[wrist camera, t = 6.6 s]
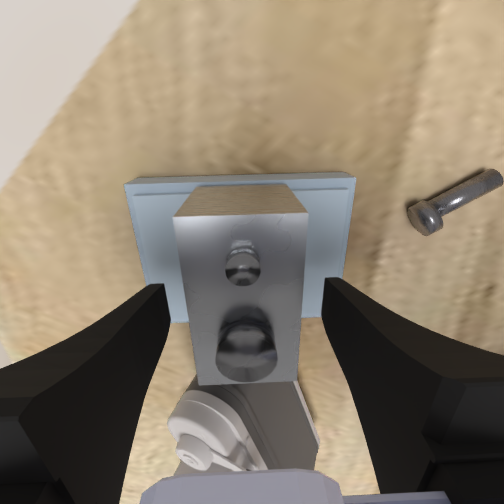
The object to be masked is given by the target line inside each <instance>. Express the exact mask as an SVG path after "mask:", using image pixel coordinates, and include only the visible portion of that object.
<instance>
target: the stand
mask: <svg viewBox="0 0 504 504" xmlns="http://www.w3.org/2000/svg"><path fill="white" fill-rule="evenodd" d="M267 184H287V186H288V187H289V188H290V190H291V191H292V192H293V193H294V195H295V196H296V197H297V199H298V200H299V201H300V202H301V204H302V205H303V206H304V208H305V209H306V210H307V211H308V213H309V214H308V228H307V243H306V257H305V272H304V286H303V301H302V315H301V318H310V317H321V308H322V299H323V290H324V280H325V277H339V278H341V279H342V276H343V269H344V262H345V255H346V248H347V241H348V234H349V226H350V219H351V212H352V205H353V198H354V191H355V184H356V177H354V176H351V175H349V174H347V173H345V172H320V173H285V174H251V175H216V176H181V177H146V178H136V179H134V180H132V181H130V182H128V183H126V184H124V188H125V192H126V197H127V201H128V206H129V210H130V215H131V219H132V224H133V228H134V233H135V237H136V241H137V246H138V250H139V255H140V259H141V264H142V268H143V273H144V277H145V282H146V286H148V285H149V284H156V283H164V285H165V290H166V296H167V301H168V306H169V312H170V317H171V323H185V322H189V319H188V313H187V307H186V300H185V294H184V287H183V281H182V275H181V268H180V262H179V255H178V249H177V243H176V236H175V230H174V223H173V216H174V215H175V213H176V212H177V211H178V210H179V208H180V207H181V206H182V204H183V203H184V202H185V200H186V199H187V198H188V197H189V195H190V194H191V193H192V191H193V190H194V189H195V188H196V187H200V186H233V185H267Z"/></svg>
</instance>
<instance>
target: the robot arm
mask: <svg viewBox="0 0 504 504" xmlns="http://www.w3.org/2000/svg"><path fill="white" fill-rule="evenodd" d="M321 317H322V320H323V324H324V328H325V331H326V334H327V336H328V339H329V341H330V343H331V346H332V348H333V350H334V353H335V355H336V357H337V359H338V362H339V364H340V366H341V368H342V371H343V373H344V375H345V377H346V380H347V382H348V385H349V388H350V390H351V394H352V397H353V400H354V403H355V406H356V409H357V412H358V415H359V419H360V422H361V425H362V429H363V432H364V435H365V438H366V442H367V446H368V449H369V453H370V456H371V460H372V463H373V467H374V471H375V475H376V478H377V482H378V486H379V490H380V494H373V495H353V496H342V494H341V490H340V487H339V483H337V482H336V481H335V480H333V479H332V478H330V477H328V476H326V475H324V474H323V473H321V472H319V471H315V470H306V469H296V468H294V469H274V470H253V471H232V472H212V473H191V474H181V475H176V476H171V477H166V478H162V479H161V480H159V481H158V482H157V483H155V484H154V485H152V486H151V487H150V488H148V489H147V490H146V491H144V492H143V493H142V496H141V500H140V504H504V356H503V355H499V354H496V353H492V352H489V351H486V350H482V349H480V348H477V347H474V346H471V345H468V344H465V343H462V342H459V341H456V340H454V339H451V338H448V337H446V336H443V335H441V334H438V333H436V332H434V331H431V330H429V329H427V328H424V327H422V326H420V325H418V324H416V323H414V322H412V321H410V320H408V319H406V318H404V317H402V316H400V315H398V314H396V313H394V312H392V311H391V310H389V309H387V308H386V307H384V306H382V305H381V304H379V303H377V302H376V301H374V300H373V299H371V298H369V297H368V296H366V295H365V294H363V293H362V292H360V291H359V290H357V289H356V288H355V287H353V286H352V285H350V284H349V283H347V282H346V281H344V280H343V279H341V278H339V277H325V280H324V290H323V299H322V308H321ZM170 323H171V317H170V312H169V306H168V301H167V296H166V290H165V285H164V283H156V284H149V285H148V286H146V287H145V288H143V289H142V290H140V291H139V292H138V293H136V294H135V295H134V296H132V297H131V298H130V299H128V300H127V301H126V302H124V303H123V304H121V305H120V306H119V307H117V308H116V309H114V310H113V311H111V312H110V313H109V314H107V315H106V316H104V317H103V318H101V319H100V320H98V321H97V322H95V323H93V324H92V325H90V326H89V327H87V328H85V329H84V330H82V331H80V332H78V333H77V334H75V335H73V336H71V337H69V338H67V339H66V340H64V341H62V342H59V343H57V344H55V345H53V346H51V347H49V348H47V349H45V350H43V351H41V352H39V353H37V354H35V355H32V356H30V357H28V358H25V359H23V360H21V361H18V362H16V363H14V364H11V365H9V366H6V367H4V368H1V369H0V504H119V501H120V497H121V492H122V487H123V482H124V478H125V473H126V469H127V465H128V460H129V456H130V452H131V447H132V443H133V440H134V436H135V432H136V428H137V424H138V420H139V416H140V413H141V409H142V406H143V402H144V398H145V395H146V392H147V389H148V386H149V384H150V381H151V379H152V376H153V374H154V371H155V369H156V366H157V363H158V361H159V358H160V356H161V353H162V351H163V348H164V345H165V343H166V340H167V336H168V332H169V327H170Z"/></svg>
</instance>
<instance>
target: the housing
mask: <svg viewBox="0 0 504 504" xmlns="http://www.w3.org/2000/svg"><path fill="white" fill-rule="evenodd" d="M308 214H309V213H308V211H307V210H306V209H305V208H304V206H303V205H302V204H301V202H300V201H299V200H298V199H297V197H296V196H295V195H294V193H293V192H292V191H291V190H290V188H289V187H288V186H287V184H267V185H233V186H200V187H196V188H195V189H194V190H193V191H192V193H191V194H190V195H189V197H188V198H187V199H186V200H185V202H184V203H183V204H182V206H181V207H180V208H179V210H178V211H177V212H176V213H175V215H174V216H173V223H174V230H175V236H176V243H177V249H178V255H179V262H180V268H181V275H182V281H183V287H184V294H185V300H186V307H187V313H188V319H189V326H190V332H191V339H192V345H193V352H194V358H195V364H196V371H197V377H198V384H199V385H221V384H243V383H265V382H287V381H297V373H298V358H299V344H300V329H301V315H302V301H303V286H304V272H305V257H306V243H307V228H308Z"/></svg>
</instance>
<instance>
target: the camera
mask: <svg viewBox="0 0 504 504" xmlns="http://www.w3.org/2000/svg"><path fill="white" fill-rule="evenodd" d="M167 425H168V429H169V431H170V433H171V434H172V435H173V437H174V438H175V440H176V441H177V447H176V454H177V455H178V457H179V458H180V460H181V462H180V464H179V466H178V468H177V470H176V471H175V473H174V476H176V475H181V474H191V473H212V472H232V471H253V470H274V469H294V468H296V469H306V470H314V467H315V461H316V455H317V453H318V449H319V444H320V439H319V436H318V433H317V431H316V428H315V426H314V423H313V420H312V418H311V415H310V413H309V410H308V407H307V405H306V402H305V400H304V397H303V394H302V392H301V389H300V387H299V384H298V381H287V382H265V383H243V384H221V385H199V384H198V377H197V374H196V376H195V377H194V379H193V381H192V382H191V384H190V385H189V387H188V388H187V390H186V392H185V393H184V394H183V395H182V397H181V398H180V400H179V402H178V403H177V405H176V407H175V409H174V410H173V412H172V413H171V415H170V417H169V418H168V421H167Z"/></svg>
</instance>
